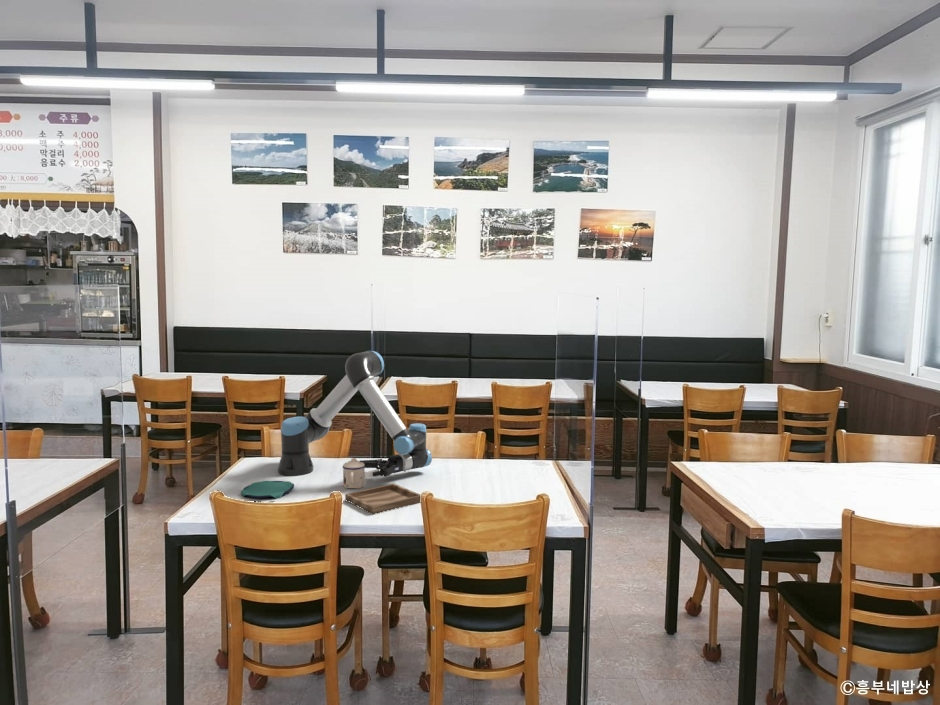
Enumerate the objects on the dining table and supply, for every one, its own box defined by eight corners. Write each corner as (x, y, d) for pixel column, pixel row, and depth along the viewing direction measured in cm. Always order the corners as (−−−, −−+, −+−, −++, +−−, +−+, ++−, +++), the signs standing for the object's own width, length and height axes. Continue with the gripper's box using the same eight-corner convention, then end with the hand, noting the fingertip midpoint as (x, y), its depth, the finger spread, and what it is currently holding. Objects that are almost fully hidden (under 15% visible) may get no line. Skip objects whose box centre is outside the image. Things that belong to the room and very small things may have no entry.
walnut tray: (345, 500, 245) (345, 494, 245) (393, 489, 259) (393, 483, 259) (372, 514, 230) (372, 507, 230) (422, 501, 244) (422, 495, 244)
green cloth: (301, 485, 264) (301, 480, 264) (270, 511, 234) (270, 505, 234) (255, 484, 266) (255, 479, 266) (219, 509, 237) (219, 503, 237)
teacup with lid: (344, 482, 268) (344, 455, 267) (366, 482, 268) (366, 455, 267) (339, 491, 256) (339, 463, 255) (362, 491, 256) (362, 463, 255)
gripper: (416, 478, 266) (372, 487, 253) (383, 465, 285) (341, 474, 272) (416, 460, 266) (372, 469, 252) (383, 448, 285) (340, 456, 271)
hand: (356, 471), depth 262 cm, fingers open, 13 cm apart
